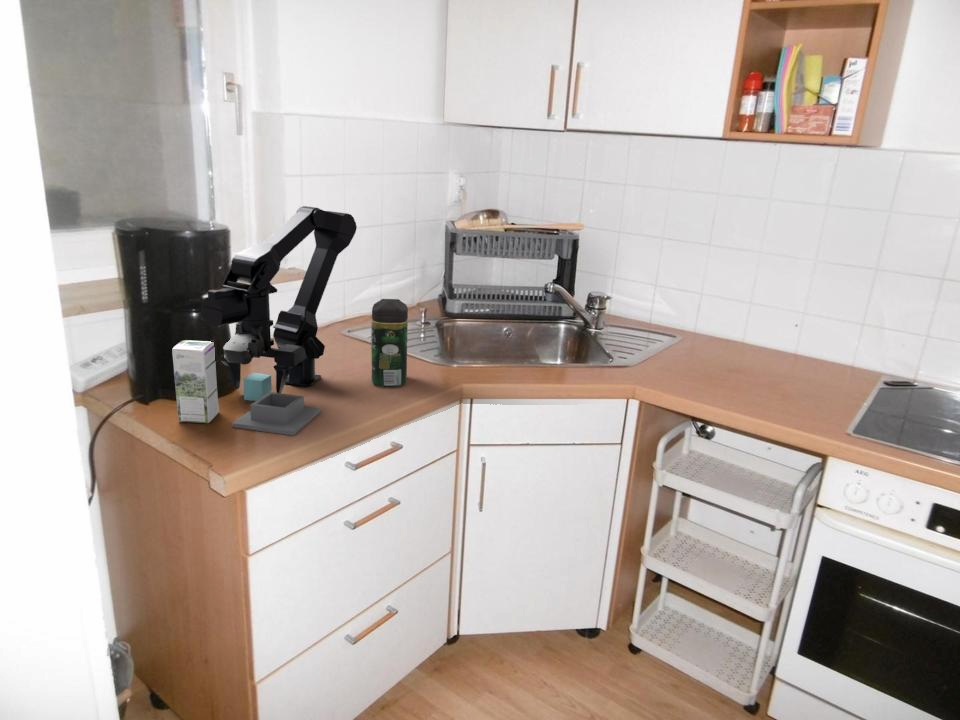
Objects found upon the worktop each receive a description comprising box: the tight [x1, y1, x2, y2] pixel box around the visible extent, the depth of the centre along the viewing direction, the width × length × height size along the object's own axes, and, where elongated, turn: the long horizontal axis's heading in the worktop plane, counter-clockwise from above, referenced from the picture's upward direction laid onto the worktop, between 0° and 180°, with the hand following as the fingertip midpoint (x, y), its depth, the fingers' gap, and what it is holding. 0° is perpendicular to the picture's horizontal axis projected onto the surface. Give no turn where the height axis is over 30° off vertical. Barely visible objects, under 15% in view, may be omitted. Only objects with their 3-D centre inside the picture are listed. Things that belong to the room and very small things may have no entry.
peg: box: [242, 372, 273, 402], centre depth 138 cm, size 4×4×4 cm
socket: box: [231, 391, 322, 437], centre depth 128 cm, size 12×12×4 cm
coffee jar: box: [370, 298, 409, 389], centre depth 149 cm, size 10×8×19 cm
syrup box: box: [171, 339, 220, 424], centre depth 125 cm, size 6×6×14 cm
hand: (258, 391), depth 138 cm, fingers open, 9 cm apart
